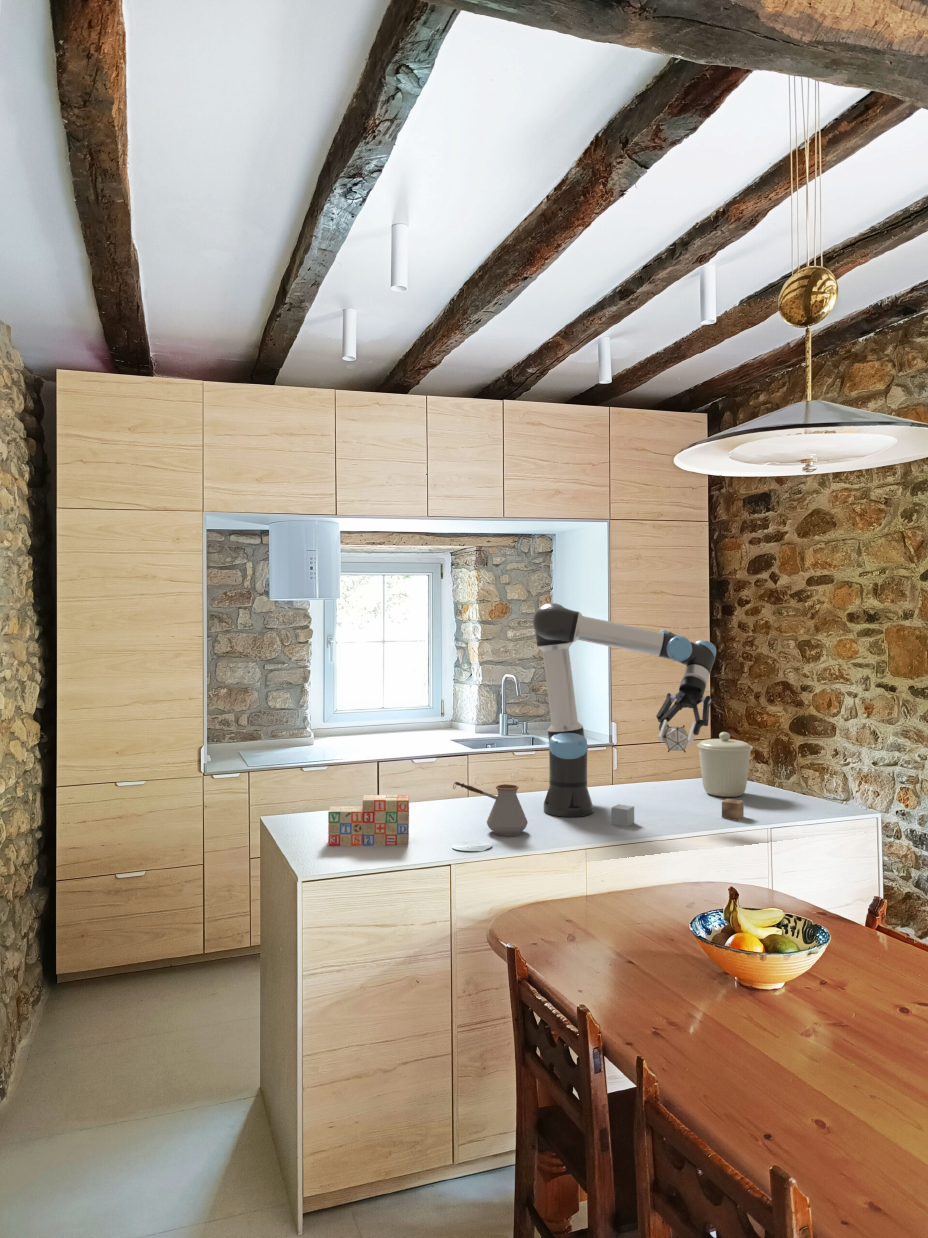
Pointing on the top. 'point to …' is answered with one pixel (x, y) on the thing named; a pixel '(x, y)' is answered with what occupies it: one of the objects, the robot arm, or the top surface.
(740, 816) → the walnut block
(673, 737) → the game die
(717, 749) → the canister
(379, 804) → the stack of blocks
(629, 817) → the light grey cube
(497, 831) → the coffee pot
